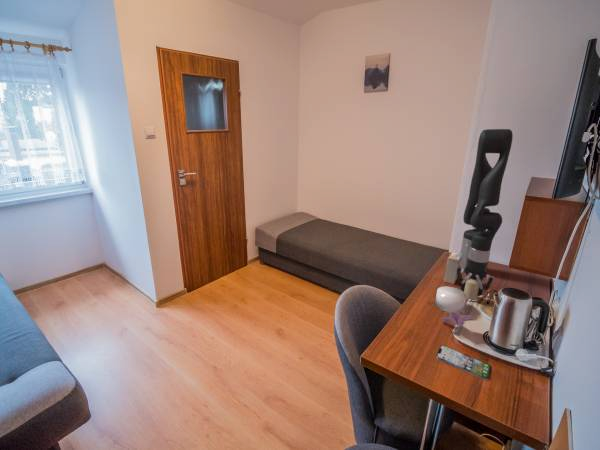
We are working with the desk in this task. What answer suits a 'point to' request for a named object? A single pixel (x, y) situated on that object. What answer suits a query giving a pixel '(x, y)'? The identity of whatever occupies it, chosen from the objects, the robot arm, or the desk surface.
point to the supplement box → (452, 267)
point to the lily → (457, 319)
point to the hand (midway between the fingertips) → (470, 292)
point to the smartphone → (464, 362)
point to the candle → (471, 289)
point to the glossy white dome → (450, 299)
